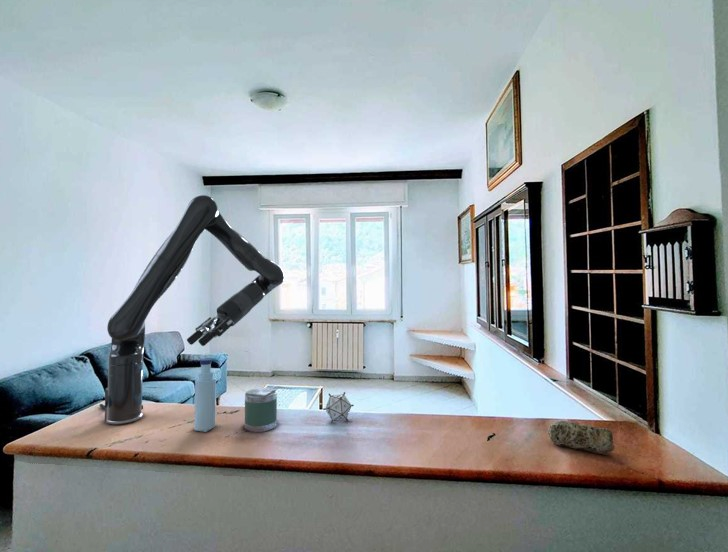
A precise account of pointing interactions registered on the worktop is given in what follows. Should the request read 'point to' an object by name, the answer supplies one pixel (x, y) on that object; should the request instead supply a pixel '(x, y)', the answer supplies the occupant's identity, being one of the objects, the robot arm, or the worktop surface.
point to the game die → (338, 407)
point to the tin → (260, 409)
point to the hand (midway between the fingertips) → (194, 343)
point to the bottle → (205, 397)
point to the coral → (581, 437)
